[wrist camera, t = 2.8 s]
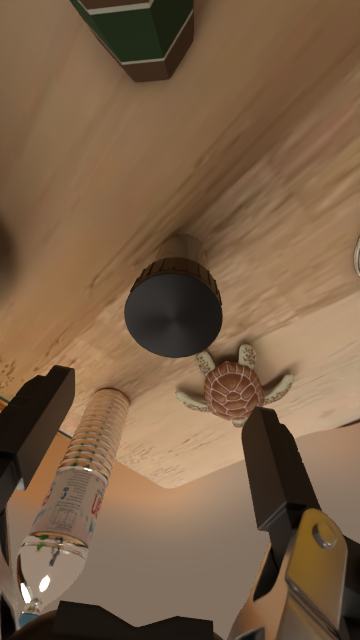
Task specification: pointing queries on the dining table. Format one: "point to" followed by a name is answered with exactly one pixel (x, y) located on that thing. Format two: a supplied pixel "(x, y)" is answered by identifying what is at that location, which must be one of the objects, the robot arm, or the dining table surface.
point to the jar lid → (174, 308)
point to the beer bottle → (141, 33)
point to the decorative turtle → (233, 387)
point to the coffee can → (357, 258)
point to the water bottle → (71, 506)
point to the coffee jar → (183, 249)
